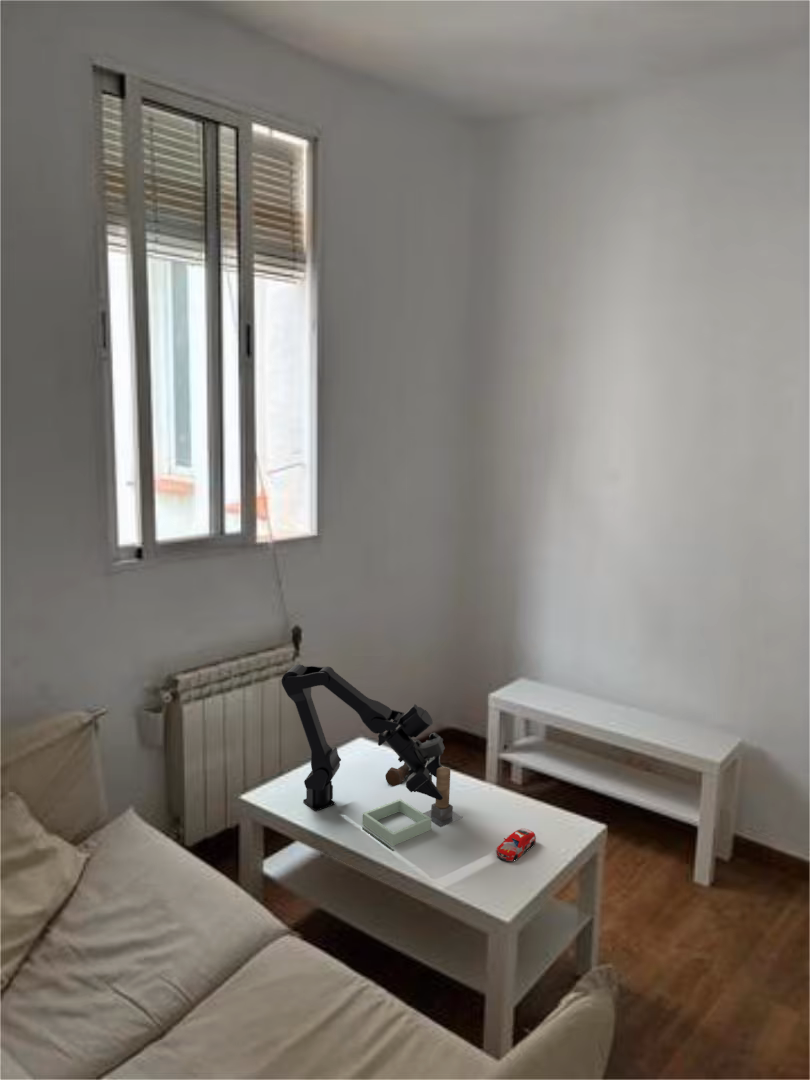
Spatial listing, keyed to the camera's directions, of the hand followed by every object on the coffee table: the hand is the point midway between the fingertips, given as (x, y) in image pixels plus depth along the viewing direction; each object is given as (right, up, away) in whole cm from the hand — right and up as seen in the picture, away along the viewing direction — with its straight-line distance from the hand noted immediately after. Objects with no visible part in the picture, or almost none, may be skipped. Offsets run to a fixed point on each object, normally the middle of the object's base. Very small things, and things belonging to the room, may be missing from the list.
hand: (444, 790), depth 209 cm
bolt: (-10, -4, +26) cm, 28 cm away
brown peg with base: (-1, -7, +1) cm, 7 cm away
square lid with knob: (-1, -9, +2) cm, 9 cm away
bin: (-13, -9, -4) cm, 16 cm away
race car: (+17, -12, -10) cm, 23 cm away
